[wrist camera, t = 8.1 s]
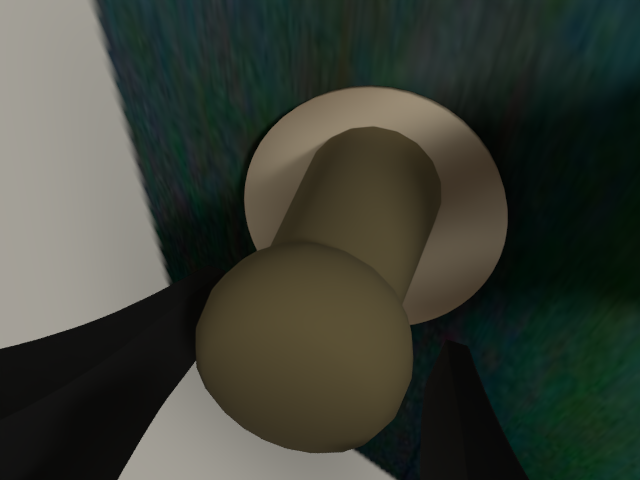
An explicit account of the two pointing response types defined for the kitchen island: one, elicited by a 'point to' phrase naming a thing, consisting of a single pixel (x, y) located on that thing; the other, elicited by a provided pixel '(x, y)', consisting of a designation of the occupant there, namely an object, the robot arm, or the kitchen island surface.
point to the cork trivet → (451, 165)
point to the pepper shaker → (326, 300)
